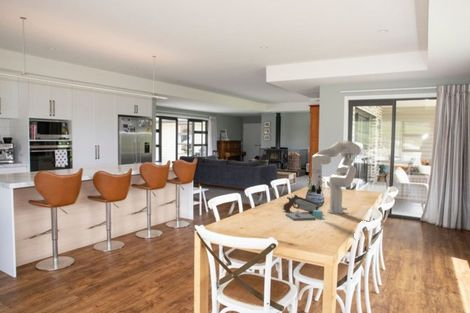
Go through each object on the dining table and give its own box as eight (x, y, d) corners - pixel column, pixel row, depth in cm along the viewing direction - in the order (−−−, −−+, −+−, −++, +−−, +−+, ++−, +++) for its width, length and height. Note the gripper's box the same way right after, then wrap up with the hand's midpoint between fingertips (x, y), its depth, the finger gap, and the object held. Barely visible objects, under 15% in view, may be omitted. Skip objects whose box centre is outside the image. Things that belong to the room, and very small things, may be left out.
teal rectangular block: (319, 216, 261) (319, 209, 261) (322, 217, 256) (322, 211, 255) (312, 216, 260) (312, 210, 259) (315, 218, 254) (316, 211, 254)
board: (306, 214, 265) (306, 207, 265) (315, 219, 250) (315, 212, 249) (285, 215, 261) (285, 208, 261) (293, 220, 246) (293, 213, 245)
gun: (314, 221, 270) (320, 204, 268) (282, 209, 274) (287, 192, 273) (314, 219, 274) (320, 202, 273) (282, 208, 279) (288, 191, 277)
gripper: (326, 172, 248) (325, 194, 249) (316, 169, 265) (315, 191, 266) (317, 172, 247) (316, 195, 248) (307, 169, 264) (306, 191, 265)
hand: (316, 192), depth 257 cm, fingers open, 9 cm apart
